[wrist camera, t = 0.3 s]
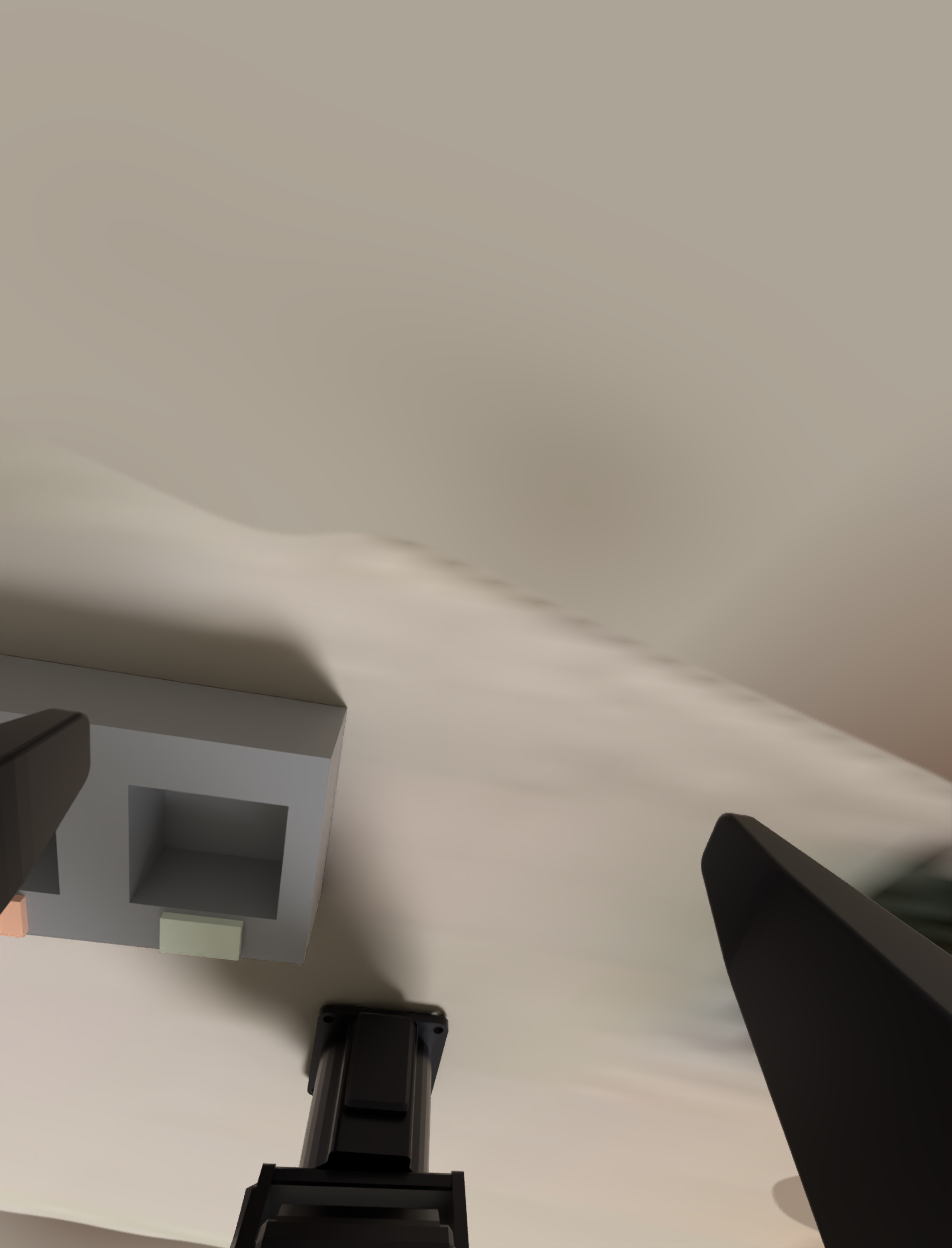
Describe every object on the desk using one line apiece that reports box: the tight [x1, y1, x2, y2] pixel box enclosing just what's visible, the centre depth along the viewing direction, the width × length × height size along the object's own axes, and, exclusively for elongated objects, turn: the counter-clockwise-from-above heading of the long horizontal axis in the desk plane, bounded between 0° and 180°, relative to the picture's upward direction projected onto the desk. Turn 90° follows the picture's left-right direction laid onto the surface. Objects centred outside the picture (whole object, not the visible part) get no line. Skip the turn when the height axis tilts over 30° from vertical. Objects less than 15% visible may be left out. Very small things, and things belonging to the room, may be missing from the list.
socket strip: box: [0, 655, 347, 965], centre depth 24 cm, size 10×16×4 cm, turn 79°
